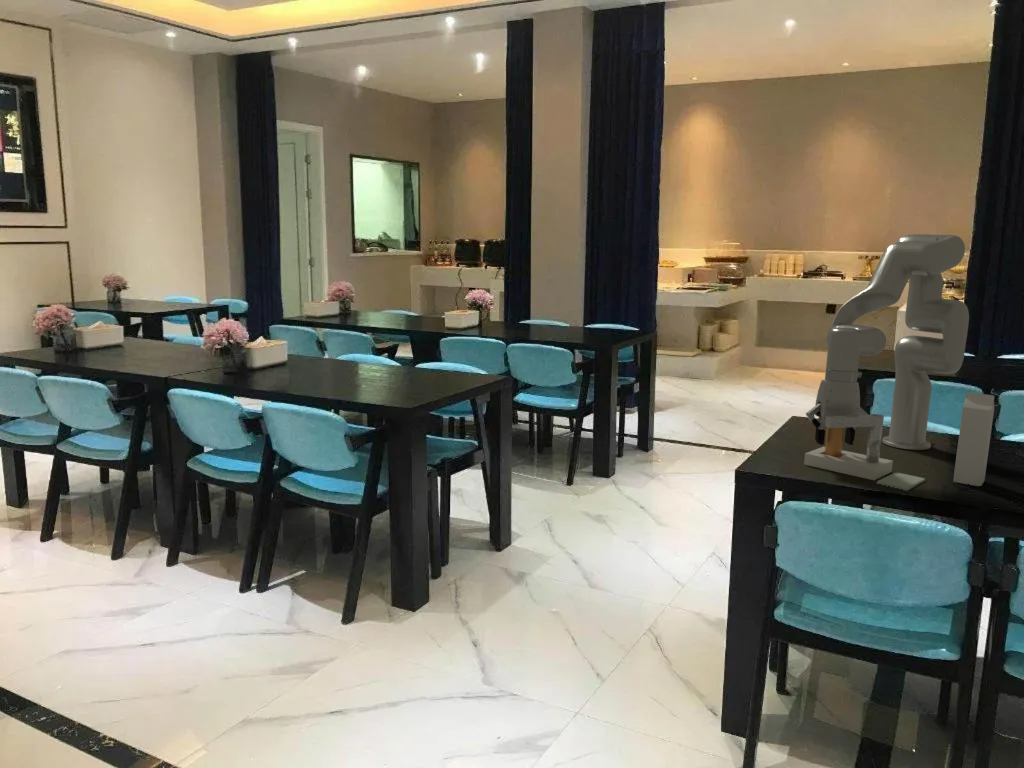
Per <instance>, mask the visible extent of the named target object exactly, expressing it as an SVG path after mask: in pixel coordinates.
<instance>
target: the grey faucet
mask: <svg viewBox="0 0 1024 768" xmlns="http://www.w3.org/2000/svg"><path fill="white" fill-rule="evenodd" d="M884 420H885V415H883V414H879V413H871V414H868V415H860V414H859V415H847V416H826V420H825V426H824V427H826V428H827V427H828V428H844V429H845V428H846V427H858V428H861V427H862V428H864V427H865V428H866V427H867V428H868V438H867V445H866V447H867V448H866V453H865V455H866V461H868V462H879V458H880V455H881V445H882V439H883V438H882V437H883V436H882V435H883V429H884V427H883V426H884Z"/></svg>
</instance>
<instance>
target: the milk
mask: <svg viewBox="0 0 1024 768" xmlns="http://www.w3.org/2000/svg"><path fill="white" fill-rule="evenodd" d="M962 405H963V406H962V411H961V420H960V426H959V434H958V443H957V449H956V457H955V466H954V473H953V481H952V482H953V483H959V484H963V485H968V484H969V486H975V487H979V486H981V487H982V485H983V484H984V482H985V479H986V471H987V464H988V456H989V451H990V445H991V444H990V441H991V436H992V428H993V427H992V426H993V421H994V414H995V413H994V412H995V395H993V394H986V393H984V394H983V393H976V392H966V393H965V399H964V403H963V404H962Z"/></svg>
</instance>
